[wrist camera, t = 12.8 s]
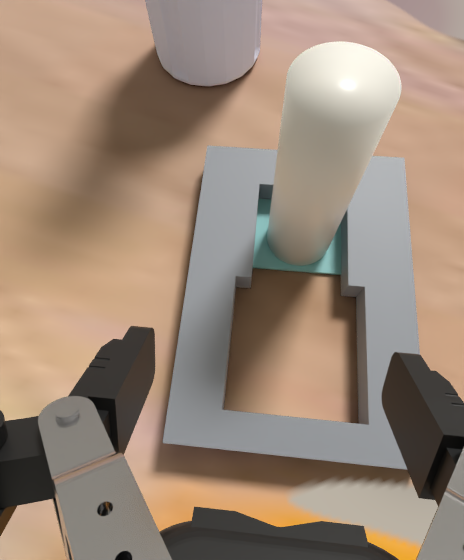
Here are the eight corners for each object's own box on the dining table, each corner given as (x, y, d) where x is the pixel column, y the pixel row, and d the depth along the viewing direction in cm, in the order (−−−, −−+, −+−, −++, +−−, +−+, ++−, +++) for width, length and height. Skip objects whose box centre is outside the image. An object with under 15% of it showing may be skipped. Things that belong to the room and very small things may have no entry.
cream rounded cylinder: (297, 278, 26) (344, 146, 14) (254, 234, 27) (263, 78, 15) (343, 239, 27) (425, 85, 15) (299, 199, 28) (341, 26, 16)
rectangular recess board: (412, 468, 22) (429, 472, 20) (168, 441, 23) (162, 443, 21) (393, 175, 29) (404, 157, 27) (209, 163, 30) (207, 145, 28)
